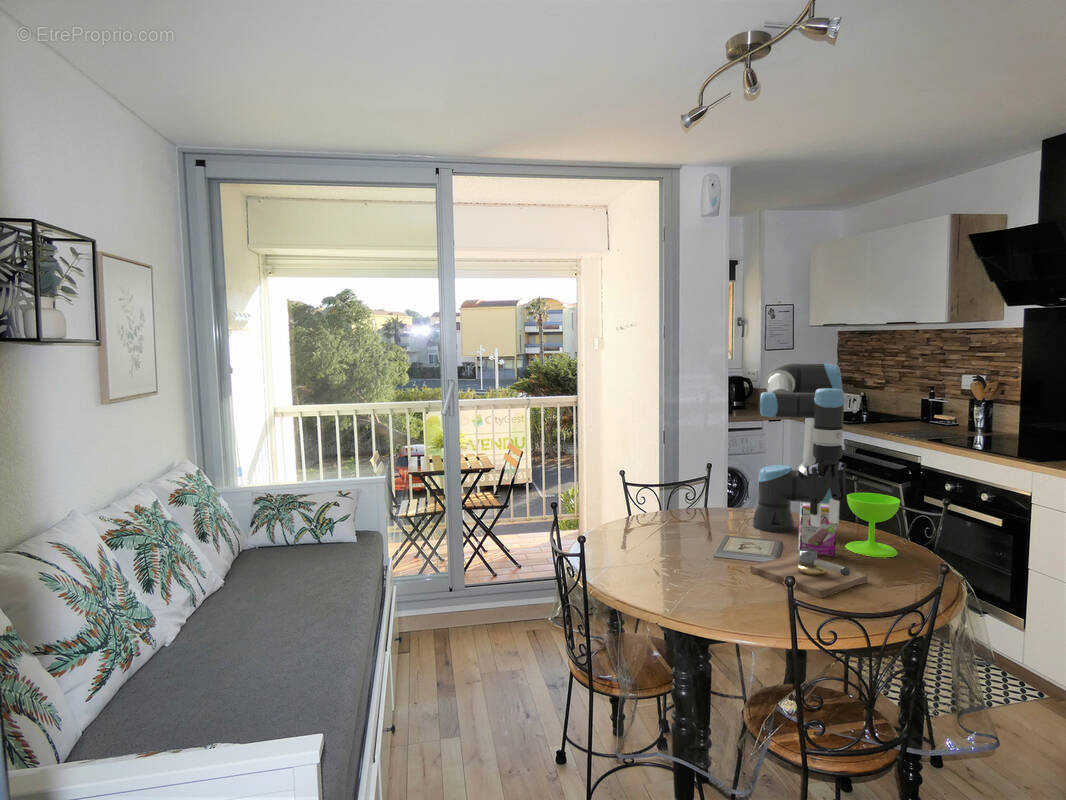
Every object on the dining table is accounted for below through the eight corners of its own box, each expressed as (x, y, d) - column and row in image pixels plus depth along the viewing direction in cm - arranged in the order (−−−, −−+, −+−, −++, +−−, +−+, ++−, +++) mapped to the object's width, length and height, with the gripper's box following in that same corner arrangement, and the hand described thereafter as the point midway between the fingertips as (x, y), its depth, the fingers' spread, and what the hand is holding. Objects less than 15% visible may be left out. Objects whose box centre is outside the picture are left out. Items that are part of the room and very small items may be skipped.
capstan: (791, 569, 195) (792, 551, 194) (808, 564, 199) (809, 546, 198) (840, 586, 181) (841, 566, 181) (857, 580, 185) (858, 561, 185)
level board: (750, 572, 199) (750, 565, 199) (796, 558, 211) (796, 552, 211) (820, 598, 179) (821, 590, 179) (867, 581, 191) (867, 574, 190)
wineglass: (848, 540, 230) (850, 490, 229) (900, 548, 221) (902, 496, 220) (840, 552, 217) (843, 499, 216) (895, 561, 208) (897, 506, 207)
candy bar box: (799, 554, 216) (801, 505, 214) (797, 549, 220) (799, 502, 219) (836, 557, 213) (838, 508, 211) (833, 552, 217) (835, 504, 216)
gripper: (814, 448, 174) (811, 532, 176) (863, 442, 183) (859, 522, 185) (791, 444, 180) (789, 525, 183) (839, 439, 189) (836, 516, 191)
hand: (824, 523), depth 184 cm, fingers open, 7 cm apart
